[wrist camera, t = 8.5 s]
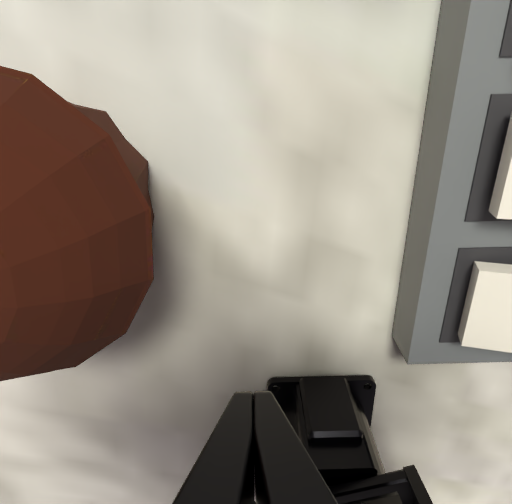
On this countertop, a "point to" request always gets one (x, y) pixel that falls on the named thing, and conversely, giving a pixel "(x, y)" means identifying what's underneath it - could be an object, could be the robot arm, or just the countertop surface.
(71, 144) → the muffin
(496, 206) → the rocker
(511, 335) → the rocker
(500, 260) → the switch unit
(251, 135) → the countertop surface
